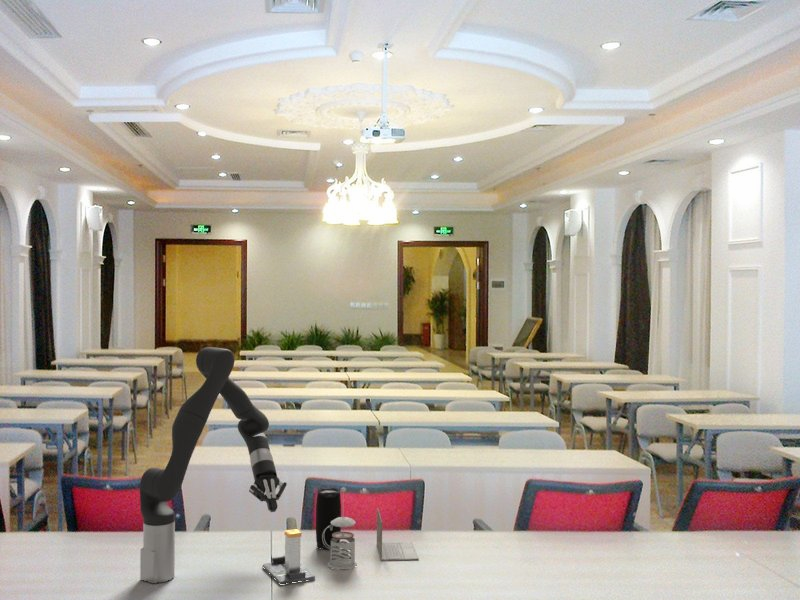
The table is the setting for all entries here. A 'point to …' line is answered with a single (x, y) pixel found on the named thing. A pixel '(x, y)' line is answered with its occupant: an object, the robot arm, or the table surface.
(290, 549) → the fader handle
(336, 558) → the french press
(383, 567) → the table surface
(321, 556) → the table surface
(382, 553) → the laptop
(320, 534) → the portable speaker
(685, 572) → the table surface
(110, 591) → the table surface
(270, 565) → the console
